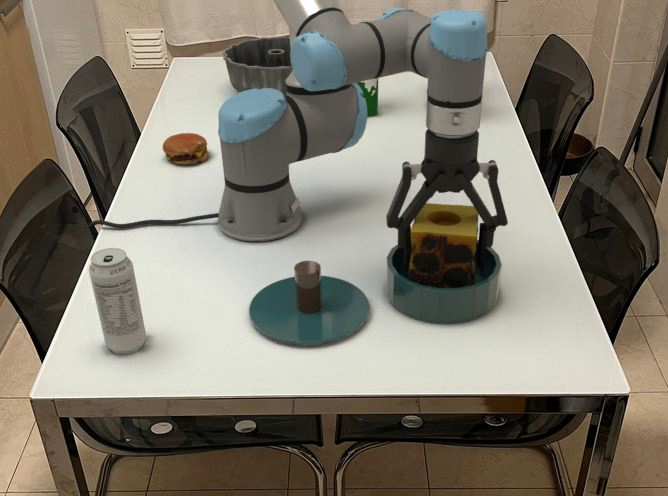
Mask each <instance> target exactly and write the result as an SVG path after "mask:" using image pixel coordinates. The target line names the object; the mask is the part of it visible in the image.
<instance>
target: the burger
mask: <svg viewBox="0 0 668 496" xmlns="http://www.w3.org/2000/svg"><path fill="white" fill-rule="evenodd" d="M207 146H208V142H207V139H206V138H205V137H204V136H202V135H200V134H198V133H192V132H183V133H182V132H181V133H177V134H173V135H170V136H169V137H167V138H166V139H165V140H164V141H163V143H162V151H163V152H164V154H165V157H166V158H167V160H168V161H171V162H173V163H174V164H177V165H191V164H192V165H196V164H197V163H198V162H205V161H207V160H208V159H209V156H210V155H209V150H208V147H207Z"/></svg>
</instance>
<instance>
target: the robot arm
mask: <svg viewBox="0 0 668 496" xmlns="http://www.w3.org/2000/svg"><path fill="white" fill-rule="evenodd" d="M273 2H274V3H275V5H276V6H275V7H277V10H278V11H279V13H280V15H281V16H282V18H283V20H284V21H285V23H286V25H287V27H288V34H289V36H288V37H290V46H291V52H290V58H291V65H292V67H293V71H292V72H291V74H290V75H289V76H288V78H287V79H286V90H287V94H286V95H283V93H282V92H280V91H279V90H276V89H272V88H262V89H257V88H256V89H250V90H246V91H243V92H238V93H236V94H233V95H231V96H230V97H228V98H226V99H225V100H224V102H223V103H222V105H221V106H220V107H219V109H218V128H217V129H218V130H217V134H218V137H219V144H220V152H221V153H220V154H221V160H222V171H223V179H224V180H223V181H224V189H223V192H222V196H221V201H220V206H219V210H218V212H215V213H208V214H202V215H201V214H200V215H195V216H189V217H185V218H179V219H178V218H177V219H145V220H138V221H133V222H127V223H116V222H111V221H108V220H103V219H96V220H93V221H91V222H90V223H89V224H88V225H87V227H86V228H87V229H92V228H94V227H95V226H97V225H102V226H106V227H110V228H114V229H127V228H128V229H129V228H134V227H140V226H146V225H178V224H186V223H191V222H196V221H197V222H198V221H202V220H209V219H217V218H218V227H219V229H220V230H221V232H222V233H223V234H224V235H226V236H228V237H230V238H232V239H235V240H239V241H244V242H267V241H268V242H269V241H274V240H277V239H282V238H284V237H286V236H289V235H291V234H292V233H294V232H295V231H297V230H298V229H299V228H300V226H301V225H302V210H301V206H300V204H301V203H300V200H299V198H298V197H297V196H296V194H295V191H294V189H293V186H292V184H291V180H290V165H292V164H294V163H299V162H302V161H307V160H309V159H314V158H318V157H321V156H324V155H328V154H336V153H339V152H341V151H343V150H347V149H349V148H352V147H354V146H355V145H356V144H358V143H359V141H360V140H361V139H362V138H363V136H364V133H365V131H366V128H367V123H368V116H367V104H366V100H365V98H363V91H362V89H361V88H360V86H359V85H358V84H357V82H361V81H365V80H369V79H376V78H378V79H380V78H384V77H389V76H393V75H399V74H403V73H406V72H409V73H414V74H415V75H418V76H420V77H422V78H425V79H427V87H428V92H427V91H426V111H425V113H426V115H425V126H426V128H427V129H426V130H425V132H424V133H425V134H424V135H425V136H424V155H423V156H424V157H423V160H422V161H421V162H420V163H414V164H411V163H410V162H409V161H404V162H402V165H401V167H402V168H401V177H400V181H399V183H398V185H397V188H396V190H395V193H394V196H393V199H392V201H391V204H390V206H389V208H388V211H387V214H386V217H385V218H386V219H385V220H386V227H387V228H389V229H393V228H394V229H396V230H397V244H398V247H399V249H404V265H405V270H409V263H410V256H411V254H410V251H411V228H412V225H411V224H413V222H414V219H415V217H416V216H417V215H418V213H419V212H420V211H421V209H422V208H423V207H424V205H425V204H426V203H428V201H429V200H430V199H432V198H433V197H434V196H435V194H436V192H438V194H445V193H448V192H450V193H453V194H459V193H461V191H463V192H464V194H465V195H466V197H467V198H468V200H469V201H470V203H471V204H472V206H474V207H475V209H476V211H477V212H478V214H479V215H478V216H479V217H480V219H481V220H482V222H479V228H478V239H477V240H478V251H477V263H478V267H479V269H484V262H485V251H486V247H491V248H492V247H493V245H494V237H495V233H496V231H497V228H498V227H506V226H507V225H508V224H509V220H508V217H507V213H506V210H505V209H506V208H505V206H504V205H505V204H504V202H503V198H502V195H501V194H502V193H501V190H500V186H499V184H498V183H499V182H498V178H499V167H498V164H497V162H496V160H494V159H490V160H489V161H488V162H479V161H478V154H479V153H478V151H479V141H480V139H479V138H480V132H479V131H478V130H479V128H480V127H481V116H482V101H483V93H484V91H483V90H484V82H485V72H486V71H485V70H486V59H487V54H488V49H489V46H488V21H487V18H486V17H485V16H484V15H483V14H482V13H480V12H478V11H474V10H466V9H461V8H460V9H458V8H457V9H447V10H441V11H439V12H436V13H435V14H434V15H433V16H432V17H431V16H427V15H424V14H422V13H421V12H418V11H415V10H413V9H410V8H402V7H393V8H389V9H387V10H386V11H385V12H384V13H383V14H382V15H380V16H379V17H378V18H377V19H376V20H371V21H363V22H364V23H361V22H359V23H354V24H352V23H351V22H350V20H349V19H348V17H347V16H346V15H345V12H344V11H343V10H342V9H343V8H341V6H340V4H339V3H338V0H273ZM479 173H481V174H482V177H483V179H485V180H487V183H488V187H489V191H490V194H491V197H492V202H493V205H494V206H493V207H494V209H495V213H496V214H495V215H492V214H491V211H489V209H488V208H487V206H486V204H485V203H484V201H483V199H482V198H481V196H480V194H479V193H478V191H477V190H476V188H475V186H474V184H473V182H472V181H473V180H474V179H475V178H476V177H477V175H478V174H479ZM420 174H421V175H422V176H423V177H424V179H425V180H424V181H423V182H422V185H421V187H420V189H419V190H418V191H417V193H416V194H415V196H414V197H413V198H412V200H411V201H410V203H409V204H408V205H407V207H406V208H405V210H403V212H402V208H403V206H404V204H405V201H406V199H407V196H408V194H409V191H410V188H411V185H412V181H414V180H416V179H417V177H418V175H420ZM401 212H402V214H401ZM400 214H401V215H400Z"/></svg>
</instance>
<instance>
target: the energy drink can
mask: <svg viewBox="0 0 668 496" xmlns="http://www.w3.org/2000/svg"><path fill="white" fill-rule="evenodd" d="M90 261H91V262H90V264H89V268H88V273H89V277H90V282H91V286H92V291H93V295H94V299H95V304H96V309H97V313H98V317H99V321H100V326H101V330H102V331H101V332H102V335H103V339H104V344H105V346H106V347H107V348H108V349H110V351H112V352H113V353H115V354H118V355H128V354H132V353H135V352H137V351H139V350H140V349H142V347H143V345H144V344H145V341H146V340H147V332H146V327H145V321H144V316H143V310H142V306H141V302H140V301H141V300H140V296H139V290H138V284H137V280H136V274H135V269H134V264H133V263H134V262H133V261H132V260H131V259H130V258H129V257H128V256H127V252H126V251H125V250H124V249H121V248H118V247H108V248H102V249H100V250H98V251H96V252H94V253H93V254H92V255H91V257H90Z"/></svg>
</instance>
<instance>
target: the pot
mask: <svg viewBox="0 0 668 496" xmlns="http://www.w3.org/2000/svg"><path fill="white" fill-rule="evenodd" d="M477 245H478V243H477ZM411 250H412V242H411ZM477 251H478V250H477ZM410 258H411V256H410ZM502 265H503V264H502V261H501V258H500V255H499V254H498V253H497V251H495V250H494V248H492V247H486V251H485V262H484V269H479V267H478V263H477V255H476V270H475V273H476V274H475V285H471V286H466V287H461V288H435V287H429V286H423V285H420V284H417V283H415V282H412V281H409V277H408V271H409V270H405V265H404V249H399V247H398V243H397V244H396V245H394V246H393V247H392V248H391V249H390V250H389V252H388V254H387V256H386V273H385V277H386V279H385V288H386V289H385V290H386V299H387V300H388V302H389V304H390V305H391V306H392V307H393V308H394V309H395V310H396V311H397V312H399V313H400V314H402V315H404V316H406V317H408V318H410V319H413V320H416V321H419V322H423V323H428V324H436V325H456V324H457V325H458V324H463V323H468V322H472V321H475V320H477V319H479V318H481V317H483V316H485V315H487V314H489V312H491V310H493V309H494V307H495V306H496V304H497V301H498V296H499V290H500V283H501V274H502Z"/></svg>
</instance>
